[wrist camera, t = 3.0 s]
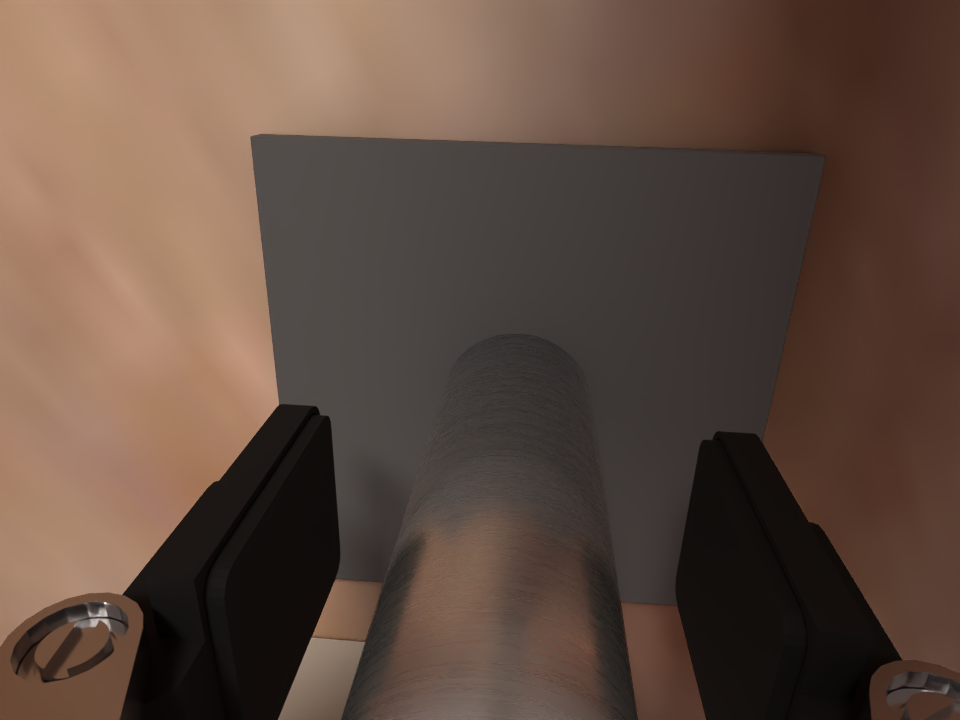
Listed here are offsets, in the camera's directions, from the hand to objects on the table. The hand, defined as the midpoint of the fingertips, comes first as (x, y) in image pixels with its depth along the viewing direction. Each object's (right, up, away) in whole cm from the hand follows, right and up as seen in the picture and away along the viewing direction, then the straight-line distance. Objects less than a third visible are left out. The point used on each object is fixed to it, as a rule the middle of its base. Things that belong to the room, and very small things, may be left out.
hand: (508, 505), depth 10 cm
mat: (0, +2, +4) cm, 4 cm away
